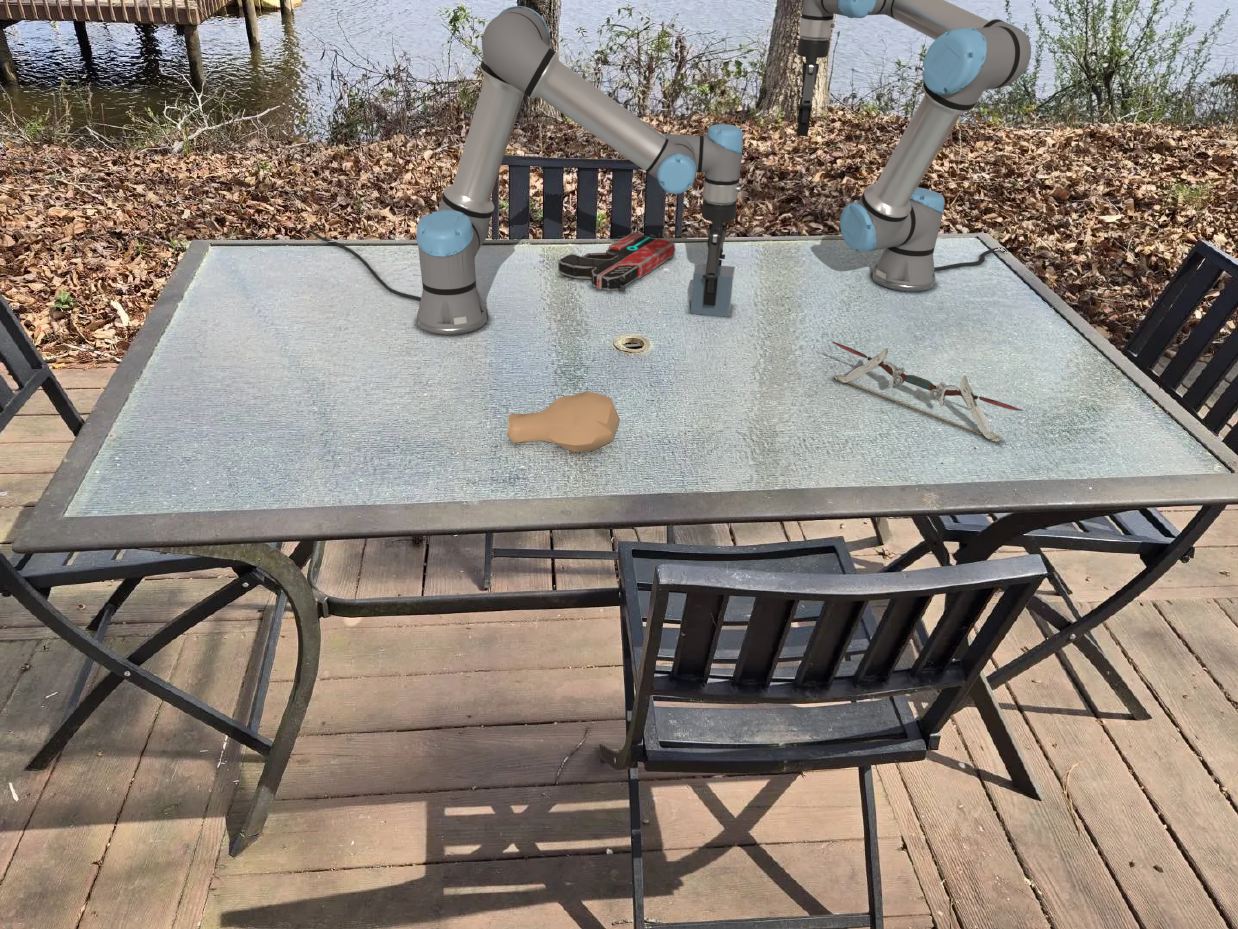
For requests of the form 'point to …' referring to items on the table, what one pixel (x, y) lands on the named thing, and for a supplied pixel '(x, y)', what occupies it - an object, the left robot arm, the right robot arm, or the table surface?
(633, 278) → the gun
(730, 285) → the grey rectangular block
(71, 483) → the table surface
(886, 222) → the right robot arm
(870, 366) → the bow
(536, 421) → the squash
